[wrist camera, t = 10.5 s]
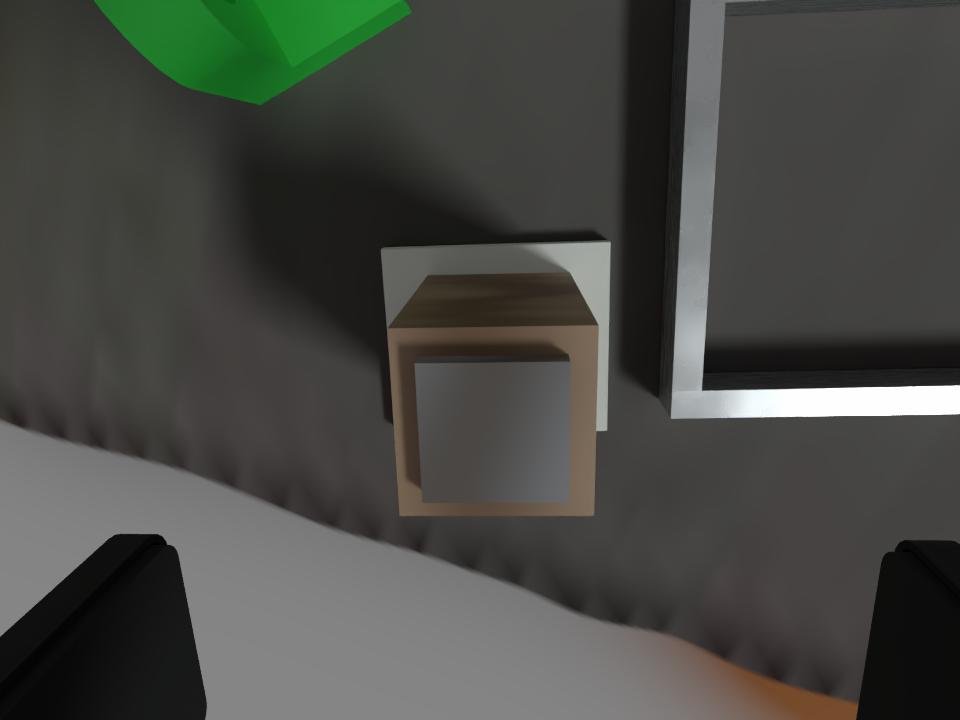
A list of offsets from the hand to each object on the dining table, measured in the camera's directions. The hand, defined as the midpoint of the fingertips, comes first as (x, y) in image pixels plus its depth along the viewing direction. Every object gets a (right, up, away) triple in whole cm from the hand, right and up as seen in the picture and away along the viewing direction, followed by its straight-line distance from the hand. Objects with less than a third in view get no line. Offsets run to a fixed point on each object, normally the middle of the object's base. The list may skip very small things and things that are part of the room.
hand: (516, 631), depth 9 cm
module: (0, +4, +15) cm, 16 cm away
